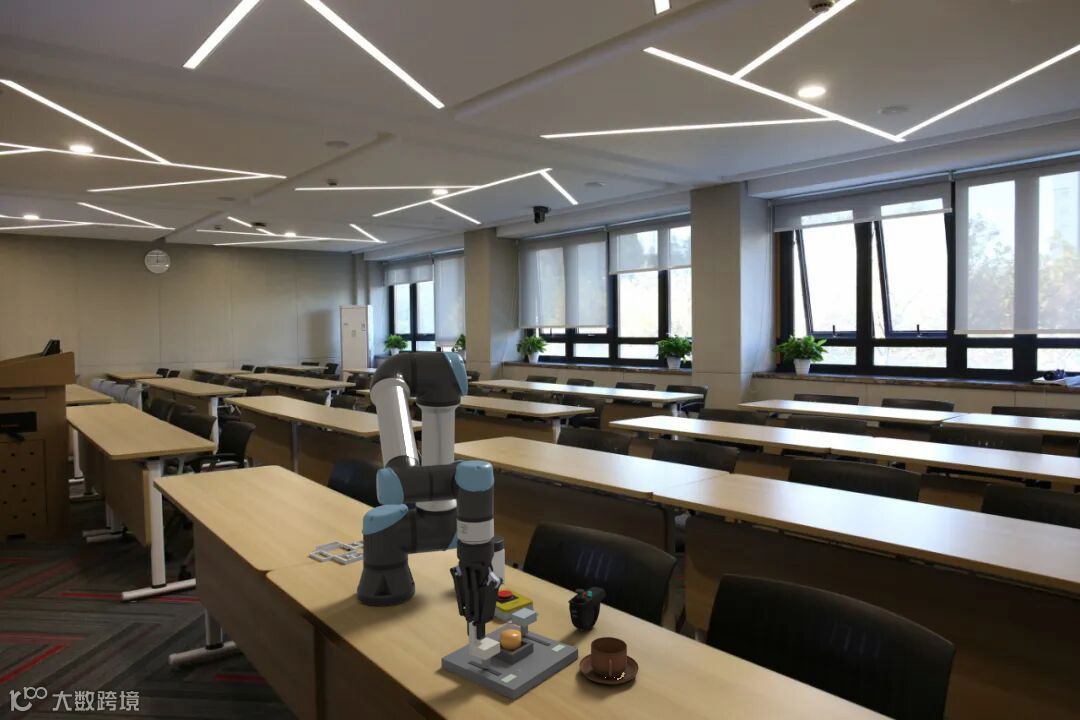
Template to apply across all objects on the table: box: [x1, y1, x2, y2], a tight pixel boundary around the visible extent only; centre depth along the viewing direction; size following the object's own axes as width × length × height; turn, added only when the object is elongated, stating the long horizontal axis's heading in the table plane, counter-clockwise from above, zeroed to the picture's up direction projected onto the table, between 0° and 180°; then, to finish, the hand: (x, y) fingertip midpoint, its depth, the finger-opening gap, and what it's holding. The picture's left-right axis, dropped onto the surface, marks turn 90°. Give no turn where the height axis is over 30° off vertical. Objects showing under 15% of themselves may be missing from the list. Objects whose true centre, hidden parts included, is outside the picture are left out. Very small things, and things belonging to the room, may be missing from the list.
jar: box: [488, 534, 506, 585], centre depth 190 cm, size 9×8×12 cm
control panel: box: [441, 623, 579, 701], centre depth 144 cm, size 20×21×4 cm
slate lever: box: [512, 608, 538, 635], centre depth 152 cm, size 4×4×5 cm
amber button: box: [500, 629, 521, 650], centre depth 144 cm, size 4×4×2 cm
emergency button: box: [494, 587, 540, 625], centre depth 171 cm, size 9×4×15 cm
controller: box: [567, 586, 607, 632], centre depth 160 cm, size 4×12×10 cm, turn 145°
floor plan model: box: [309, 539, 363, 565], centre depth 212 cm, size 19×25×2 cm
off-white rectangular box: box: [472, 638, 500, 669], centre depth 137 cm, size 4×4×5 cm
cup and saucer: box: [578, 636, 639, 685], centre depth 139 cm, size 12×12×6 cm
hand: (476, 652), depth 139 cm, fingers closed
